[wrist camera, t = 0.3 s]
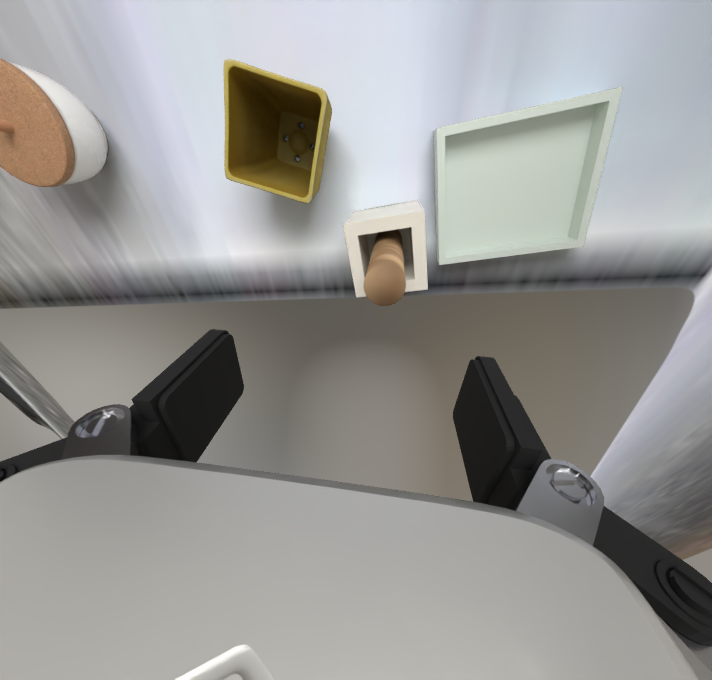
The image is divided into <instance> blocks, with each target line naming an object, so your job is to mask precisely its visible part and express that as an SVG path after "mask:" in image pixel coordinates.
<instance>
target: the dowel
mask: <svg viewBox="0 0 712 680" xmlns="http://www.w3.org/2000/svg"><path fill="white" fill-rule="evenodd" d="M363 287H364V292H365V294H366V296H367V298H368V299H369V300H370V301H372V302H373V303H375V304H377V305H381V306H387V305H392V304H394V303H396V302H397V301H399V300H400V299H401V297H402V296H403V295H404V292H405V289H406V281H405V269H404V256H403V244H402V236H401V233H400V232H399V230H398V229H396V230H390V231H384V232H378V234H377V236H376V239H375V243H374V247H373V250H372V254H371V258H370V261H369V265H368V269H367V272H366V276H365V280H364V286H363Z"/></svg>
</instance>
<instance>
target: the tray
mask: <svg viewBox="0 0 712 680" xmlns="http://www.w3.org/2000/svg"><path fill="white" fill-rule="evenodd" d="M622 89H623V87H619V88H615V89H610V90H606V91H601V92H597V93H592V94H588V95H583V96H579V97H574V98H570V99H565V100H561V101H556V102H552V103H547V104H543V105H538V106H534V107H529V108H525V109H520V110H516V111H511V112H507V113H502V114H498V115H493V116H489V117H484V118H480V119H475V120H471V121H466V122H462V123H457V124H453V125H448V126H444V127H439V128H436V129H435V130H434V170H435V216H436V259H437V261H438V264H439V265H444V264H452V263H459V262H467V261H475V260H483V259H490V258H498V257H506V256H514V255H521V254H529V253H537V252H545V251H552V250H560V249H568V248H576V247H583V246H584V242H585V238H586V234H587V230H588V226H589V222H590V218H591V214H592V210H593V206H594V202H595V198H596V194H597V190H598V186H599V181H600V177H601V173H602V169H603V165H604V161H605V157H606V153H607V149H608V145H609V141H610V137H611V133H612V129H613V125H614V121H615V117H616V113H617V109H618V105H619V101H620V97H621V93H622Z"/></svg>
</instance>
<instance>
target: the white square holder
mask: <svg viewBox="0 0 712 680" xmlns="http://www.w3.org/2000/svg"><path fill="white" fill-rule="evenodd" d="M343 228H344V233H345V239H346V244H347V249H348V255H349V260H350V266H351V271H352V276H353V282H354V287H355V293H356V297H365V296H366V294H365V292H364V287H363V286H364V280H365V276H366V272H367V269H368V265H369V261H370V258H371V254H372V250H373V247H374V243H375V239H376V236H377V234H378V232H384V231H390V230H396V229H398V230H399V232H400V233H401V236H402V244H403V256H404V269H405V281H406V289H405V292H409V291H418V290H427V289H428V284H427V260H426V235H425V210H424V209H423V207H422V206H421V204H420V202H419V201H418V200H415V201H410V202H404V203H398V204H393V205H387V206H381V207H376V208H370V209H364V210H358V211H354V212H353V213H352V214H351V215H350V217H349V218H348V219H347V220H346V221H345V222H344V223H343Z"/></svg>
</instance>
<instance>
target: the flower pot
mask: <svg viewBox="0 0 712 680" xmlns="http://www.w3.org/2000/svg"><path fill="white" fill-rule="evenodd" d="M224 103H225V164H224V165H225V175H226V178H227V179H229V180H231V181H234V182H238V183H241V184H245V185H248V186H251V187H255V188H258V189H261V190H265V191H268V192H271V193H274V194H277V195H281V196H284V197H287V198H290V199H293V200H296V201H299V202H303V203H310V202H311V200H312V199H313V198H314V196H315V195H316V193H317V192H318V190H319V187H320V181H321V174H322V168H323V161H324V155H325V149H326V143H327V137H328V132H329V126H330V121H331V115H332V108H331V104H330V101H329V99H328V96H327V94H326V92H325V90H323V89H321V88H319V87H315V86H312V85H309V84H306V83H303V82H299V81H296V80H293V79H290V78H287V77H283V76H281V75H277V74H274V73H271V72H268V71H265V70H262V69H259V68H256V67H253V66H251V65H248V64H245V63H242V62H239V61H236V60H232V59H227V60H225V61H224ZM300 123H303V124H304V128H303V129H301V128H300V127H299V124H300ZM285 135H287V136H288V141H285V140H284V136H285ZM312 144H314V145H315V149H314V150H312V149H311V145H312ZM296 156H299V157H300V161H296V159H295V157H296Z"/></svg>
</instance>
